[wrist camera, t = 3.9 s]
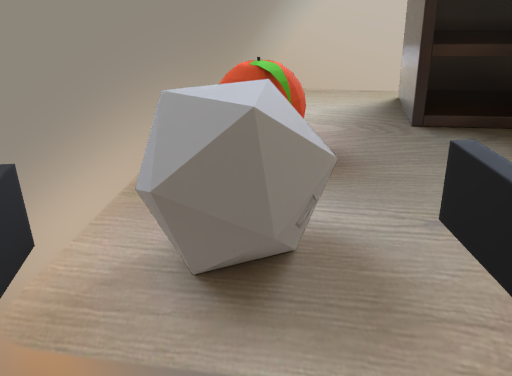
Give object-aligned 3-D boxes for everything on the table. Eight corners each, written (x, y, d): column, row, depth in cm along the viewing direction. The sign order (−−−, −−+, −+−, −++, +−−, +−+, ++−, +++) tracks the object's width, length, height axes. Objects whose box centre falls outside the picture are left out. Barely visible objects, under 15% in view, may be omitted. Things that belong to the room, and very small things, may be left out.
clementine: (331, 158, 36) (335, 60, 33) (248, 177, 33) (244, 71, 30) (276, 131, 42) (275, 47, 39) (202, 145, 39) (196, 55, 36)
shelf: (411, 126, 43) (430, -51, 37) (398, 96, 53) (412, -46, 47) (610, 130, 40) (664, -58, 34) (557, 99, 50) (592, -52, 44)
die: (316, 327, 20) (394, 105, 21) (103, 258, 17) (207, 3, 18) (247, 284, 28) (306, 125, 29) (95, 232, 25) (167, 57, 26)
